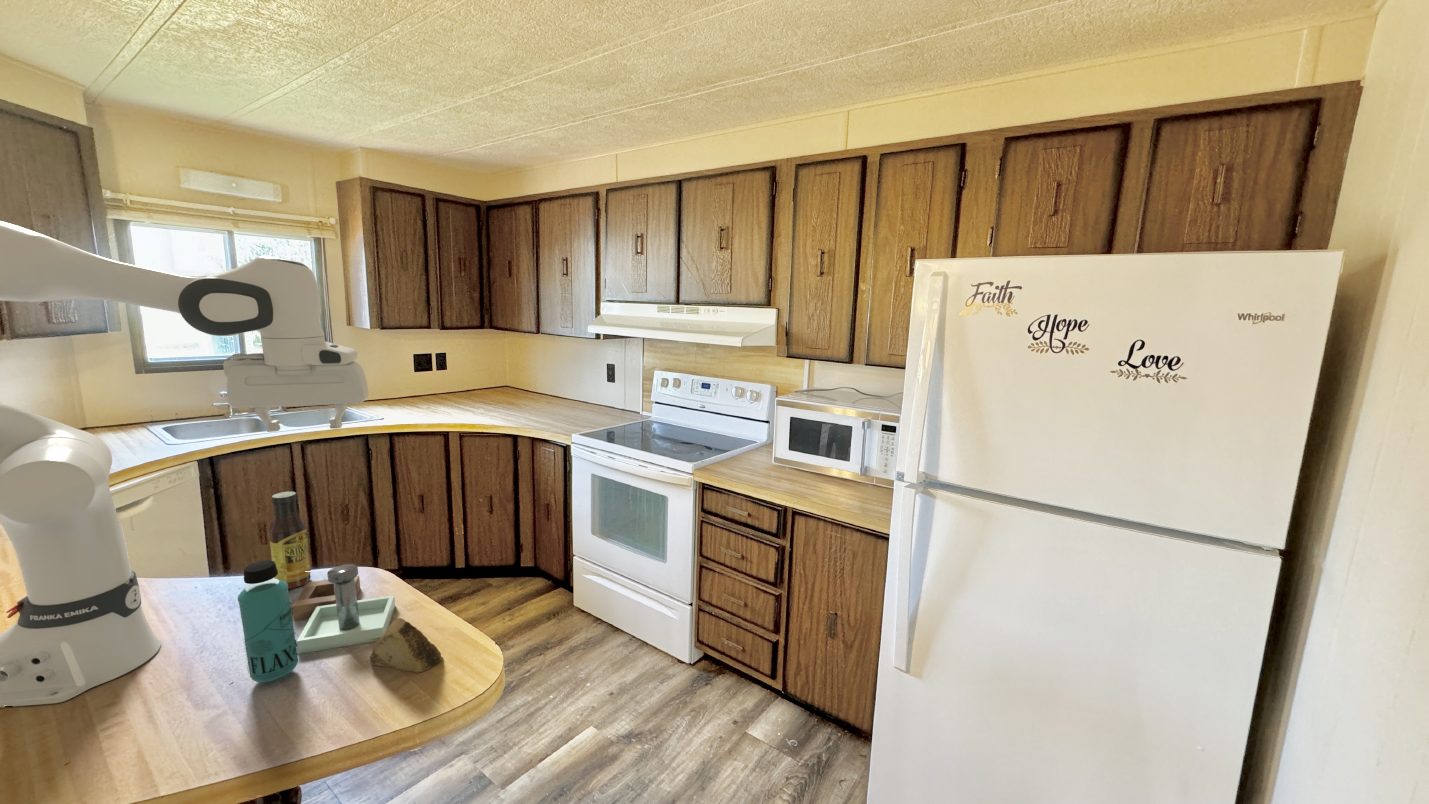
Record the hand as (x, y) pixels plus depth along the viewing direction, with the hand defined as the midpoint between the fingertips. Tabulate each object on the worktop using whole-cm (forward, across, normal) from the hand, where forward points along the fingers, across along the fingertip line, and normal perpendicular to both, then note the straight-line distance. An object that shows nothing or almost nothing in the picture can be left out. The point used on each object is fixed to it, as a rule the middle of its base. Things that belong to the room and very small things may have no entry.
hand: (305, 429), depth 99 cm
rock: (+37, +16, -20) cm, 45 cm away
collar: (+37, -1, +4) cm, 37 cm away
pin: (+36, +5, -6) cm, 37 cm away
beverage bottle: (+37, -3, -17) cm, 41 cm away
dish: (+37, +5, -6) cm, 38 cm away
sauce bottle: (+37, -10, +15) cm, 41 cm away
